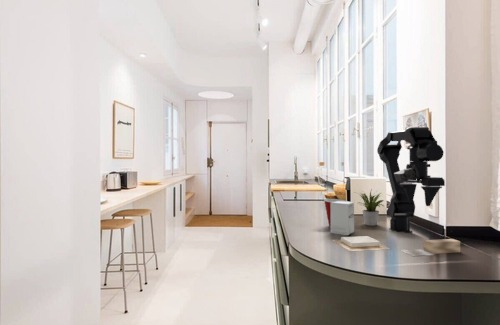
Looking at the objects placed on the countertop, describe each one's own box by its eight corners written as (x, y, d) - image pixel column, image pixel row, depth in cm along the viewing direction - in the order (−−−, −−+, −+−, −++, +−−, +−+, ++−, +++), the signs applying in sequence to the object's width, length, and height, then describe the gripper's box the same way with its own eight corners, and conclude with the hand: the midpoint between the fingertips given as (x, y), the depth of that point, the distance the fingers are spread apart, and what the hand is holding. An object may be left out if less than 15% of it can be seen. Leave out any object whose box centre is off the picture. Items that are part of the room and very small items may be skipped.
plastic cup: (348, 230, 128) (348, 201, 128) (322, 228, 132) (322, 200, 132) (349, 225, 138) (349, 198, 138) (325, 223, 142) (324, 197, 142)
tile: (367, 236, 108) (341, 237, 107) (380, 241, 100) (351, 243, 99) (367, 240, 108) (341, 241, 107) (380, 246, 100) (351, 248, 99)
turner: (448, 250, 98) (448, 237, 98) (464, 255, 92) (464, 242, 92) (400, 252, 96) (400, 240, 96) (412, 258, 90) (412, 245, 90)
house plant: (352, 226, 134) (351, 189, 134) (351, 220, 148) (350, 187, 148) (387, 228, 130) (386, 190, 130) (383, 222, 144) (382, 187, 144)
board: (368, 239, 111) (368, 238, 111) (390, 250, 98) (390, 249, 98) (331, 241, 110) (331, 239, 110) (349, 252, 96) (349, 250, 96)
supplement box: (348, 236, 116) (348, 203, 117) (330, 234, 121) (329, 202, 121) (354, 233, 122) (354, 201, 122) (337, 230, 127) (336, 200, 127)
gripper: (383, 161, 119) (383, 201, 119) (415, 161, 100) (415, 208, 100) (409, 161, 120) (409, 201, 120) (445, 161, 102) (446, 207, 102)
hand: (418, 204), depth 111 cm, fingers open, 9 cm apart
